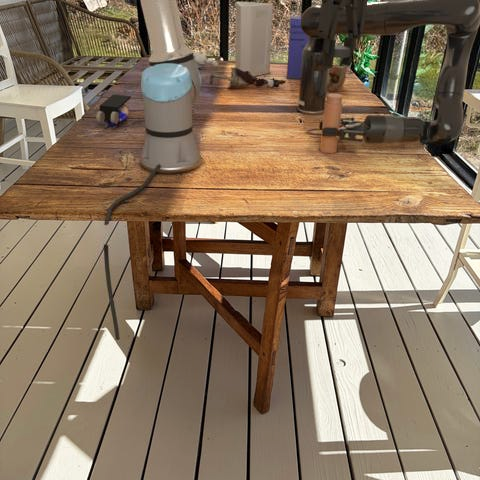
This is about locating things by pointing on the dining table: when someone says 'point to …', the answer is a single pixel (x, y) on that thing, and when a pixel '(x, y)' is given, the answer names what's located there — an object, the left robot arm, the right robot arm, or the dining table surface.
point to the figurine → (246, 79)
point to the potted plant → (336, 77)
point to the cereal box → (295, 48)
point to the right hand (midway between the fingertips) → (321, 128)
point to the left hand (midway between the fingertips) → (337, 65)
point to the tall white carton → (253, 37)
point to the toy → (203, 60)
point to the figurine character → (113, 110)
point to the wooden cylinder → (331, 121)
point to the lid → (341, 52)
